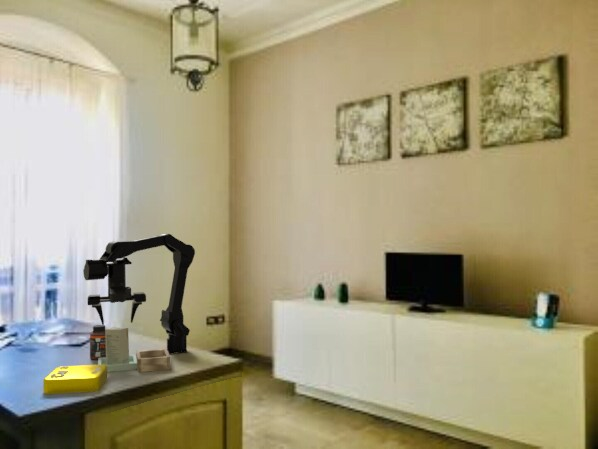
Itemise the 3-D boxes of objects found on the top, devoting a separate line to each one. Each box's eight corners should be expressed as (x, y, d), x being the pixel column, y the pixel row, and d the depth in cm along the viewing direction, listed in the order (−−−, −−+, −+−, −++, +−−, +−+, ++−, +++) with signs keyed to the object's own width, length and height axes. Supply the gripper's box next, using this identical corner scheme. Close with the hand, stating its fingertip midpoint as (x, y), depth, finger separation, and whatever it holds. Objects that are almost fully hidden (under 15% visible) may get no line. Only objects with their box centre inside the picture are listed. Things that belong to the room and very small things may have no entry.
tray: (135, 360, 183) (135, 354, 183) (137, 369, 171) (137, 363, 171) (98, 363, 179) (98, 357, 179) (97, 372, 167) (97, 366, 167)
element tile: (98, 392, 148) (98, 375, 148) (41, 396, 146) (41, 378, 146) (108, 377, 163) (108, 362, 163) (56, 380, 161) (56, 364, 161)
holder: (166, 360, 182) (166, 348, 182) (170, 369, 171) (170, 356, 171) (136, 363, 179) (136, 351, 179) (137, 372, 167) (137, 359, 167)
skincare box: (129, 364, 176) (129, 327, 176) (121, 367, 172) (121, 330, 172) (113, 362, 178) (113, 326, 178) (104, 366, 174) (104, 328, 174)
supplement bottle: (101, 360, 183) (101, 327, 183) (86, 359, 184) (86, 327, 184) (111, 356, 188) (111, 324, 188) (96, 355, 190) (96, 323, 190)
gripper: (86, 281, 170) (87, 330, 170) (147, 279, 177) (147, 325, 177) (87, 278, 181) (88, 324, 181) (144, 276, 187) (145, 320, 187)
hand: (117, 323), depth 181 cm, fingers open, 9 cm apart
